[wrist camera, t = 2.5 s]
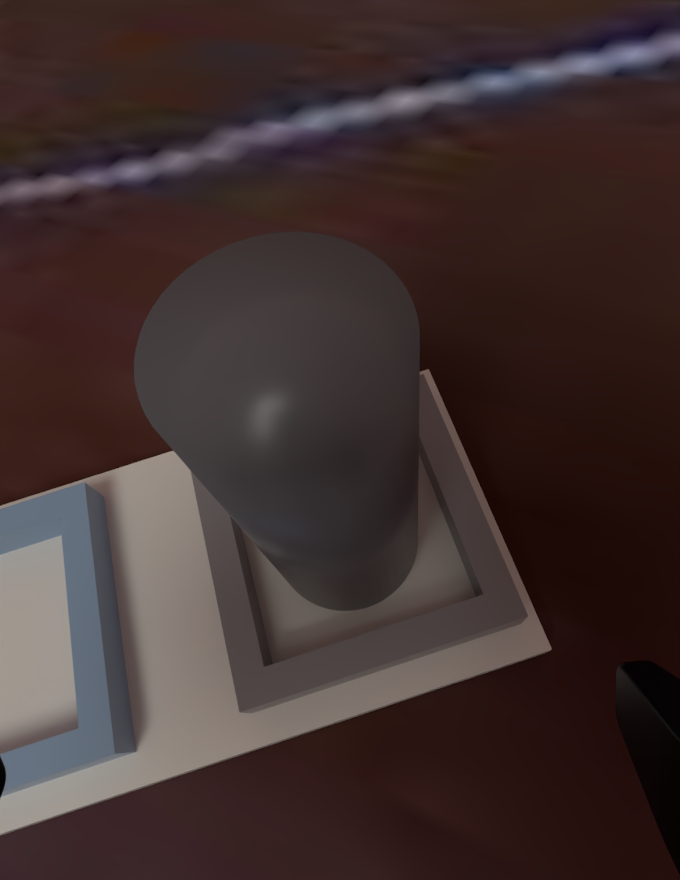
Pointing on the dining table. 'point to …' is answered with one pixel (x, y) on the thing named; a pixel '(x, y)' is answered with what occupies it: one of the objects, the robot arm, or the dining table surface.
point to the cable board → (222, 628)
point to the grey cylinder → (296, 406)
